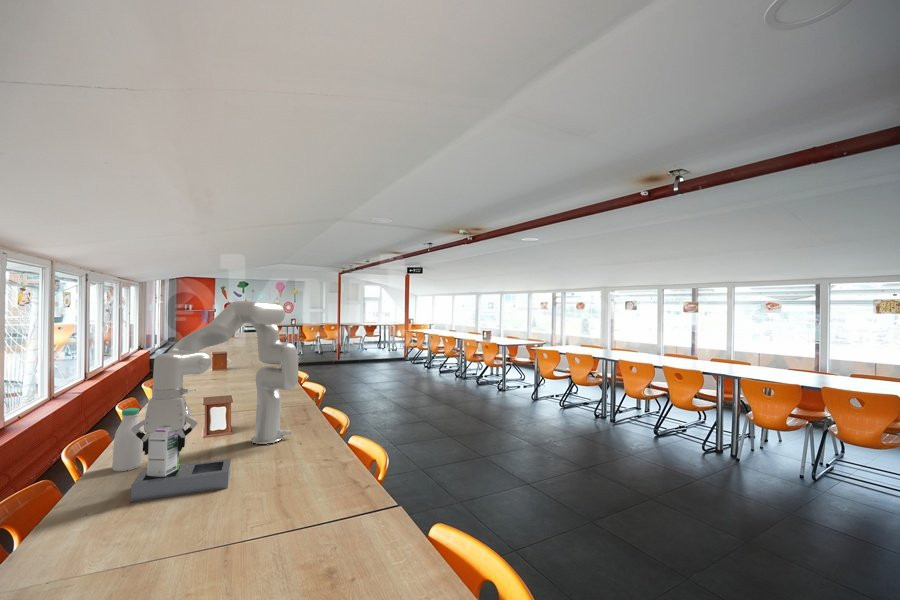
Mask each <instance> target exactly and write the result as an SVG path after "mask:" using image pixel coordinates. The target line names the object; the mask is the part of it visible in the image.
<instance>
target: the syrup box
mask: <svg viewBox="0 0 900 600" xmlns="http://www.w3.org/2000/svg"><path fill="white" fill-rule="evenodd" d="M179 437H180V435H179V434H178V432H177V431H172V428H171V427H158V428H157V429H156V430H155V432H153V433H150V436H149V441H148V454H147V467H146V468H147V476H156V477H165V476H167V475H168V474H170V473H172V472H174V471H176V470H178V469H179V465H180V451H178V441H179Z"/></svg>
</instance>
